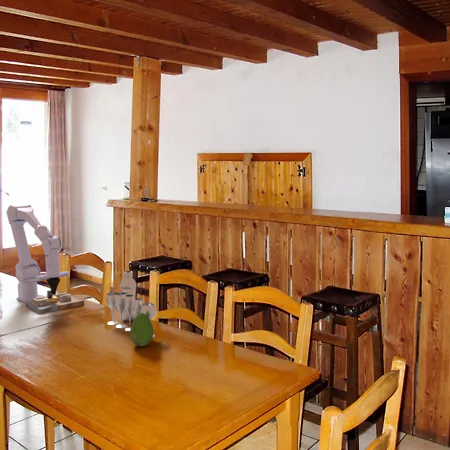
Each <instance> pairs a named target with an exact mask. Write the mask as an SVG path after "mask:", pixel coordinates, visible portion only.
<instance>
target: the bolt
mask: <svg viewBox="0 0 450 450" xmlns="http://www.w3.org/2000/svg"><path fill="white" fill-rule="evenodd" d="M46 293H47V294H46V296H47V297H45V298H44V299H47V298H48V299H49V303H52V302H57V301H58V297H56V296H55V295H53V294H52V290H51V289H50V290H46ZM39 300H42V299H39Z"/></svg>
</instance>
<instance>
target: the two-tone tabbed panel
mask: <svg viewBox="0 0 450 450" xmlns="http://www.w3.org/2000/svg"><path fill="white" fill-rule="evenodd" d="M54 296H56V297H58V301H57V302H52V303H49V299H48V298H47V297H45V296H38V297H39V298H34V299H32V301H29V302H24V305H25V308H27V309H29V310H31V311H34V312H35V313H38V314H40V315H43V314H46V313H52V312H55V311H56V312H57V311H61V310H66V309H67V310H68V309H72V308H77V307H80V306H84V305H85V300H83V299H81V298H78V297H77V296H74V295H72V293H67V292H61V293H56V295H54ZM44 298H47V299H44ZM39 299H42V300H39Z"/></svg>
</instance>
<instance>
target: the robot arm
mask: <svg viewBox="0 0 450 450" xmlns="http://www.w3.org/2000/svg"><path fill="white" fill-rule="evenodd" d="M5 214H6V217H7V221H8V224H9V225H10V228H11V232H12V236H13V237H12V238H13V240H14V245H15V249H16V251H17V252H16V253H17V256H18V260H19V261H18V262H17V263H16V265H15V267H14V268H15V277H16V278H15V279H16V280H17V281H18V284H17V295H18V296H17V297H16V299H17V300H18V301H21V302H23V303H25V302H29V301H32V299H34V298H39V297H40V296H38V282H42V281H46V282H47V283H48V286H49V288H50V290H52V294H53V296H55V295H56V294H57V289H58V286H59V284H60V282H61V278H64V277H69V276H70V272H69V271H61V270H60V269H61V268H60V249H61V248H62V240H61V238H60V236H58V235H55V234H53V233H52V232H51V231H50V229H49V228H48V227H47V226H46V225H45V224H41V223H40V221H39V220H38V218H37V217H36V215H35V214H34V208H33V207H32V205H31V204H30V203H25V204H24V203H23V204H11V205H8V207H7V210H6V213H5ZM26 223H28V224H29V226H31V228H33V229H34V231H33V232H34V235H35V236H36V237H37V239H39V241H40V242H41V247H42V249H43V254H44V258H45V274H41V271H42V270H41V268H40V267H39V264H38V261H36V260H34V259H33V258H32V256H31V251H30V249H29V244H28V239H27V235H26V231H25V227H24V225H25V224H26Z"/></svg>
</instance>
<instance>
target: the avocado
mask: <svg viewBox="0 0 450 450" xmlns="http://www.w3.org/2000/svg"><path fill="white" fill-rule="evenodd" d="M153 334H154V326H153V324H152V320H151V321H150V319H149V317H148V316H147V315H146V314H145V313H139V314H137V316H136V317H135V319H134V320H133V321H132V325H131V331H130V339H131V341H132V342H133V344H134V345H136V346H139V347H145V346H147V345H148V344H150V342H152V340H153V338H154V337H153Z"/></svg>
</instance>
